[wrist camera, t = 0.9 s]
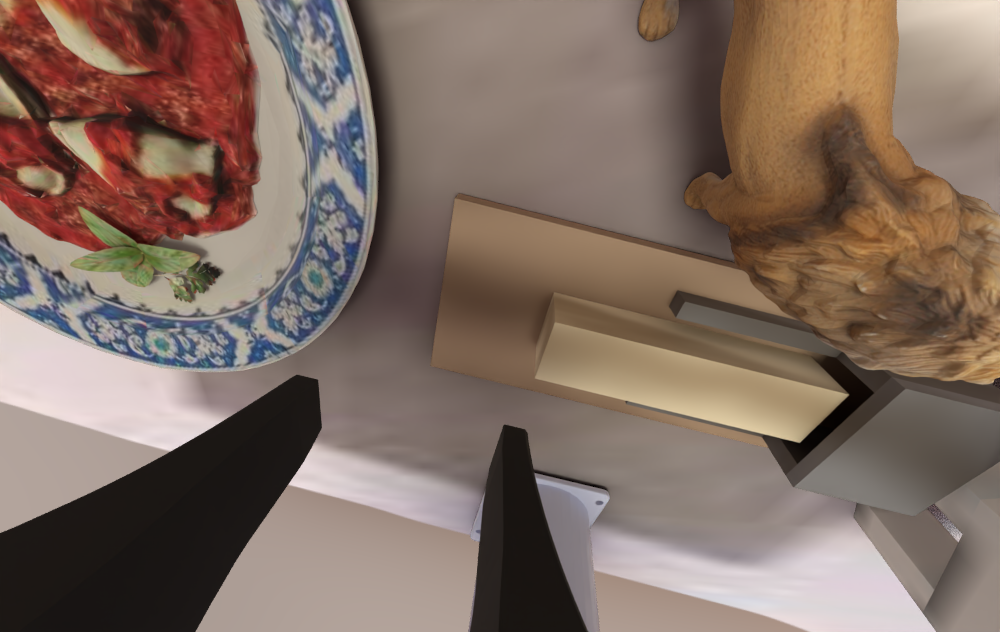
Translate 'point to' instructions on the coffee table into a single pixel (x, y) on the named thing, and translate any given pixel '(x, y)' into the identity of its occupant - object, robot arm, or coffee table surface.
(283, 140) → the ceramic plate
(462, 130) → the coffee table surface
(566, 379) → the slat
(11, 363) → the coffee table surface
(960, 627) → the toy llama
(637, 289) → the cradle
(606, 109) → the coffee table surface
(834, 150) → the lion figurine
